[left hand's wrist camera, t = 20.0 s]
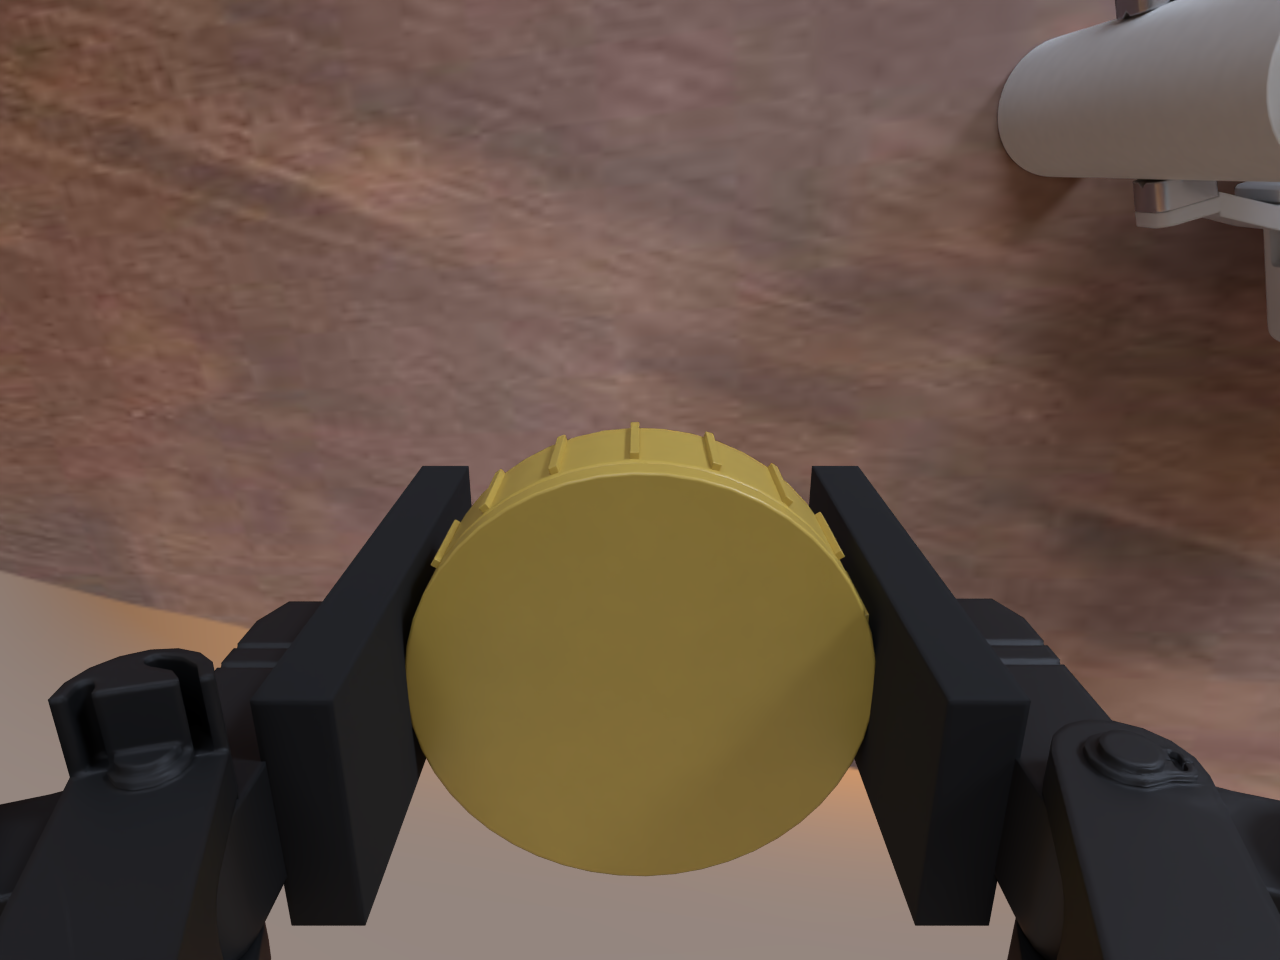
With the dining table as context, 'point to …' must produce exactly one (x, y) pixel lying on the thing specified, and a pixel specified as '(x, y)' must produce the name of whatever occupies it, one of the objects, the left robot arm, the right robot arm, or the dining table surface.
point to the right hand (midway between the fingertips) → (1133, 104)
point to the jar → (1153, 97)
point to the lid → (640, 655)
